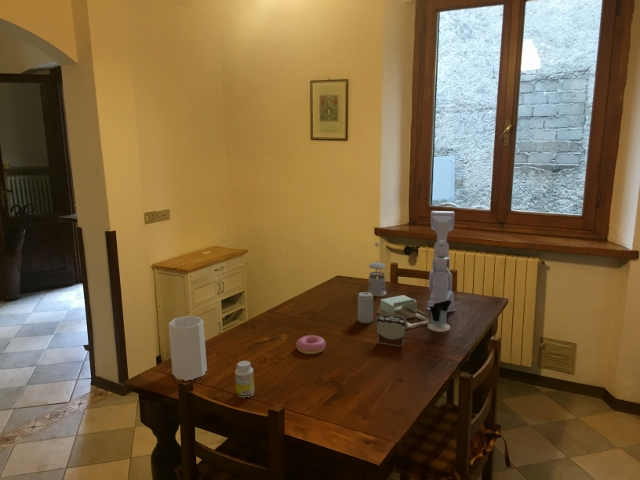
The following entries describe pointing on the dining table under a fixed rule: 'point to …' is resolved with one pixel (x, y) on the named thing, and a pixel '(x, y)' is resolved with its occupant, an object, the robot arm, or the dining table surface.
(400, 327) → the food container
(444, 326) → the cream saucer
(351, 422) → the dining table surface
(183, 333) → the cup
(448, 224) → the robot arm
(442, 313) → the slate-blue block
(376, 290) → the french press
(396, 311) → the beige open frame
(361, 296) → the beverage can
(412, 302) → the sliding cover
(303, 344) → the doughnut
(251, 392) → the supplement bottle
